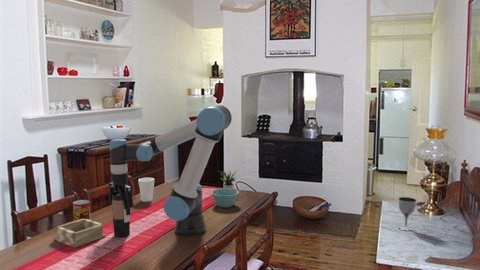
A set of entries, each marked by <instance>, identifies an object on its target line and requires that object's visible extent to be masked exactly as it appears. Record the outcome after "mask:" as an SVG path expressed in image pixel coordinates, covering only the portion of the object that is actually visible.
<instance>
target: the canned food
mask: <svg viewBox="0 0 480 270" xmlns="http://www.w3.org/2000/svg"><path fill="white" fill-rule="evenodd" d="M72 214H73V215H72V216H73V221H77V220H80V219H89V220H91V207H90V200H88V199H79V200H75V201H73V202H72Z"/></svg>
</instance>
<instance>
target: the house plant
mask: <svg viewBox="0 0 480 270" xmlns="http://www.w3.org/2000/svg"><path fill="white" fill-rule="evenodd" d="M218 172H220V173H221V176H222V177H220V178H219V179H220V180H222V181H223V182H222V183H223V184H222V187H223V188H226V189H234V187H235V184H234V183H235V182H236V177H234V176H235V175H236V174H237V172H238V171H237V170H236V171H234V172H233V173H232V171H231V170H230V168H229V170H228V173H226V171H225V170H222V172H221V171H219V170H218ZM233 182H234V183H233Z"/></svg>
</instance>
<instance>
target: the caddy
mask: <svg viewBox="0 0 480 270" xmlns="http://www.w3.org/2000/svg"><path fill="white" fill-rule="evenodd" d="M103 227H104V226H103V223H101V222H97V221H94V220H92V219H90V220H89V219H80V220H77V221H74V220H73V221H71V222H67V223H63V224H61V225H60V224H59V225H57V226H56V234H57V235H56V236H55V237H53V238H54V240H55V241H58V242H60V243H62V244H64V245H67V246H69V247H72V248H78V247H81V246H83V245H86V243H87V244H89V243H91V241H92V242H95V241H97V239H98V240H100V238H101V239H102V238H103V239H104V238H106V237H105V236H107V235H106V234H105V233H104V232H103V230H104V229H103ZM94 240H95V241H94Z"/></svg>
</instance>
